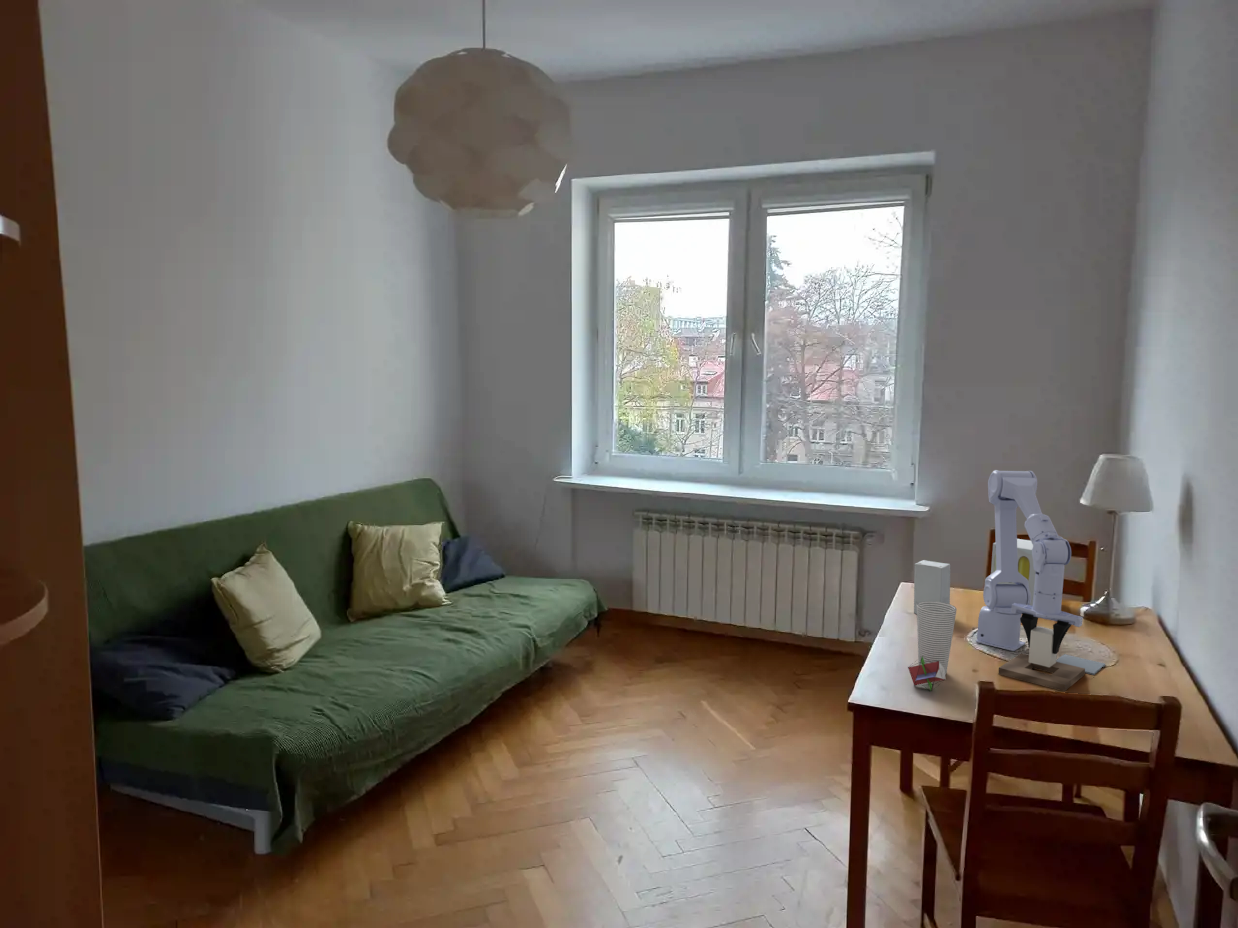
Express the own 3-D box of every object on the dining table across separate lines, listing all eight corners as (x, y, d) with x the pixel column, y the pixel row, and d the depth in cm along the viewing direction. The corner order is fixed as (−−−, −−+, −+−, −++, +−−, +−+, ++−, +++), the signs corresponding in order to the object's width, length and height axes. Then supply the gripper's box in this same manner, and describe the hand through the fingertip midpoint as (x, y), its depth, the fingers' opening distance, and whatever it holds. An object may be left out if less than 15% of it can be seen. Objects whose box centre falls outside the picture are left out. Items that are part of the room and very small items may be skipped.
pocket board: (998, 673, 193) (998, 667, 193) (1020, 659, 203) (1021, 653, 203) (1064, 691, 183) (1065, 684, 183) (1084, 674, 193) (1085, 668, 193)
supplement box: (987, 599, 254) (991, 542, 252) (1005, 591, 263) (1009, 536, 261) (1034, 609, 244) (1038, 550, 242) (1050, 601, 254) (1054, 543, 252)
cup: (931, 681, 188) (936, 613, 186) (904, 668, 196) (908, 603, 194) (960, 675, 191) (965, 609, 190) (932, 663, 199) (937, 599, 197)
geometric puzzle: (899, 679, 183) (924, 654, 180) (902, 668, 189) (926, 644, 187) (926, 702, 181) (952, 678, 179) (928, 691, 188) (953, 667, 185)
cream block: (1028, 662, 193) (1030, 630, 192) (1035, 657, 196) (1037, 626, 195) (1049, 667, 190) (1052, 635, 189) (1056, 662, 193) (1058, 630, 192)
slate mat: (1051, 664, 200) (1051, 662, 200) (1064, 655, 206) (1064, 653, 206) (1093, 674, 193) (1093, 673, 193) (1105, 665, 200) (1105, 663, 200)
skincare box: (949, 615, 237) (953, 564, 235) (939, 620, 233) (943, 567, 231) (921, 609, 243) (924, 558, 241) (911, 613, 239) (914, 561, 237)
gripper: (1008, 588, 193) (1003, 645, 195) (1077, 601, 183) (1072, 662, 185) (1019, 582, 198) (1015, 638, 200) (1087, 595, 188) (1082, 654, 190)
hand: (1043, 649), depth 193 cm, fingers closed on cream block, 4 cm apart
